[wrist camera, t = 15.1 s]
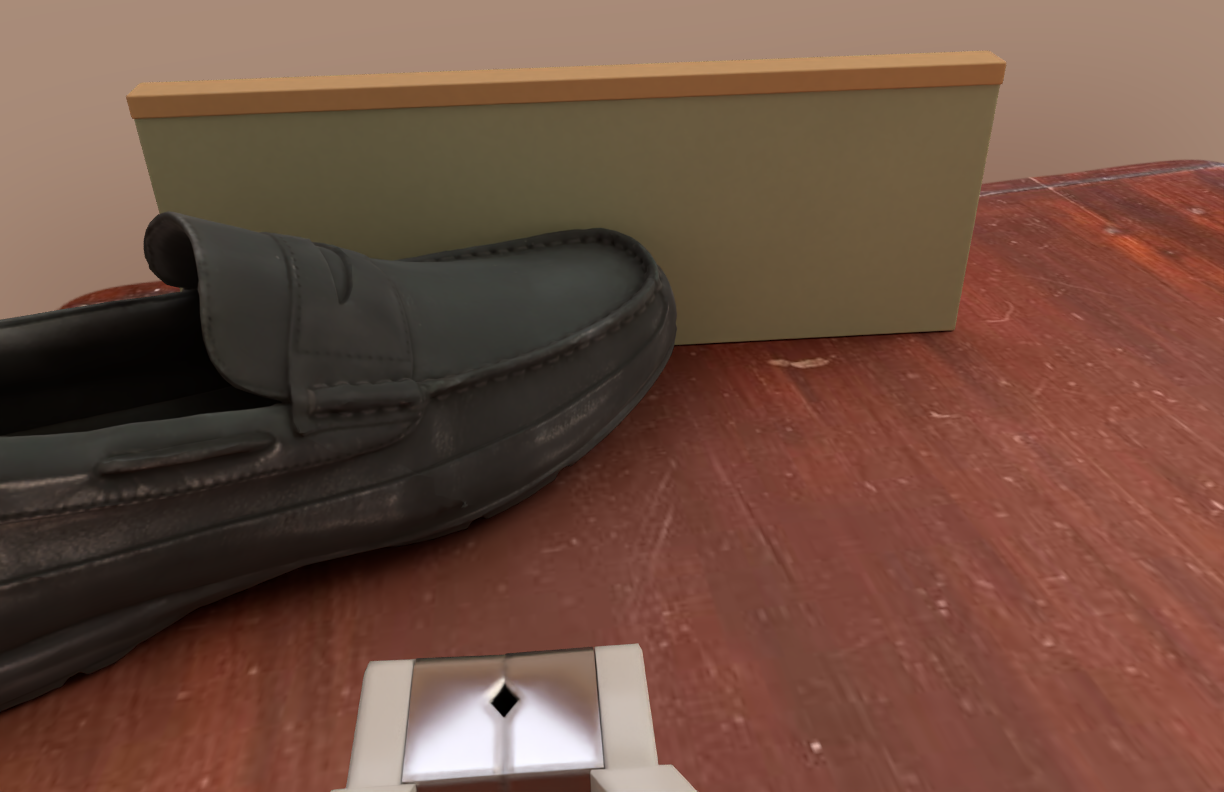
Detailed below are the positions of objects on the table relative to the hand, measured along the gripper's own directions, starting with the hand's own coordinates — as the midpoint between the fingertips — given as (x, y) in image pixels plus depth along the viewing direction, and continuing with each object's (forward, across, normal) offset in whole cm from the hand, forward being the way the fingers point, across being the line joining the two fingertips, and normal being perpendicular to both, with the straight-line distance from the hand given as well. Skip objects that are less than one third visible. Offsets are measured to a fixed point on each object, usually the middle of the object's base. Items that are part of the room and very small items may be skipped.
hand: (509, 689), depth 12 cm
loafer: (+18, +7, +12) cm, 23 cm away
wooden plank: (+28, -2, +12) cm, 31 cm away
